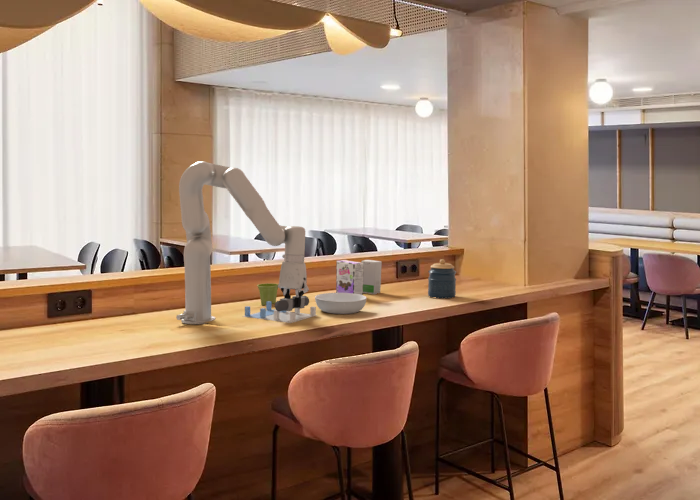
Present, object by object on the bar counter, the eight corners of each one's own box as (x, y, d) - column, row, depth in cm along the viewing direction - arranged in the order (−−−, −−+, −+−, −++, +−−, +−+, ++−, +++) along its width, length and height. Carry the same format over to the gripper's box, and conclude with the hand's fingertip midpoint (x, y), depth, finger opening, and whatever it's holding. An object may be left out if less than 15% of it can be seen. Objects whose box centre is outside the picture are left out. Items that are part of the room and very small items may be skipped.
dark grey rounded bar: (283, 312, 257) (283, 301, 256) (274, 310, 259) (274, 299, 258) (309, 306, 271) (309, 296, 271) (300, 305, 273) (300, 294, 273)
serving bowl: (320, 319, 268) (320, 301, 268) (310, 309, 289) (310, 293, 288) (372, 317, 273) (372, 300, 272) (359, 307, 293) (359, 291, 293)
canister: (451, 294, 331) (452, 257, 329) (459, 298, 318) (459, 260, 317) (424, 294, 330) (425, 257, 328) (431, 299, 317) (432, 260, 315)
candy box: (335, 295, 325) (335, 260, 324) (345, 294, 329) (345, 259, 327) (353, 299, 314) (353, 263, 313) (363, 298, 318) (363, 262, 316)
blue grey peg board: (290, 325, 256) (290, 313, 255) (242, 318, 267) (242, 307, 267) (317, 317, 271) (317, 306, 271) (270, 311, 283) (270, 300, 282)
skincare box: (359, 293, 332) (360, 260, 331) (366, 291, 338) (366, 259, 336) (375, 294, 328) (375, 261, 327) (381, 292, 334) (382, 260, 332)
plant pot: (260, 307, 292) (260, 287, 291) (254, 303, 301) (254, 283, 300) (281, 306, 296) (281, 285, 295) (275, 302, 304) (275, 282, 304)
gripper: (270, 257, 264) (268, 304, 266) (306, 261, 256) (304, 310, 258) (282, 256, 271) (280, 302, 272) (318, 260, 262) (315, 308, 264)
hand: (292, 305), depth 265 cm, fingers closed on dark grey rounded bar, 4 cm apart
